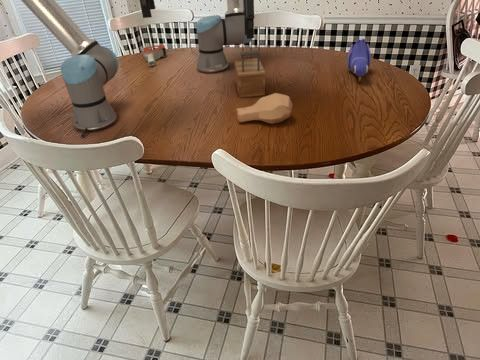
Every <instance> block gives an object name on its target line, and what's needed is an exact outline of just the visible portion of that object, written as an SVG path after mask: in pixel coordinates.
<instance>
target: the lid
mask: <svg viewBox="0 0 480 360" xmlns="http://www.w3.org/2000/svg"><path fill="white" fill-rule="evenodd" d="M260 55H261V51H260V50H259V49H258V50H247V51H246V50H245V51H241V52H240V56H241V59H234V61H233V64H234V63H235V65H234V67H235V66H236V70H237V74H238V76H246V75H258V74H265V75H266V71H265V69H264V66H263V64H262V62H261V60H260ZM249 56H250V57H251V56H256V58H246V59H245V57H249Z"/></svg>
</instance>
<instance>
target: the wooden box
mask: <svg viewBox="0 0 480 360" xmlns="http://www.w3.org/2000/svg"><path fill="white" fill-rule="evenodd" d="M233 65H234V81H235V85H236V90H237V94H238V98H241V99H242V98H251V97H264V96H266V73H265V74H258V75H246V76H238V74H237V70H236V66H235V63H234V62H233Z"/></svg>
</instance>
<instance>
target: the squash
mask: <svg viewBox="0 0 480 360" xmlns="http://www.w3.org/2000/svg"><path fill="white" fill-rule="evenodd" d="M292 109H293V102H292V100H291V97H290V96H288V95H286V94H282V93H279V92H278V93H277V92H273V93H271V94H269V95H265V96H261V97H260V98H259V99H257V101H256V102H255V103H254V104H252V105H249V106H246V107H238V108H236V115H237V118H236V119H237V120H238V122H239V123H245V122H249V121H262V122H263V123H267V124H270V125H271V124H272V125H273V124H279V123H280V124H281V123H282V122H284V121H285V120H287V119H289V118H290V117H291V112H292Z"/></svg>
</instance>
